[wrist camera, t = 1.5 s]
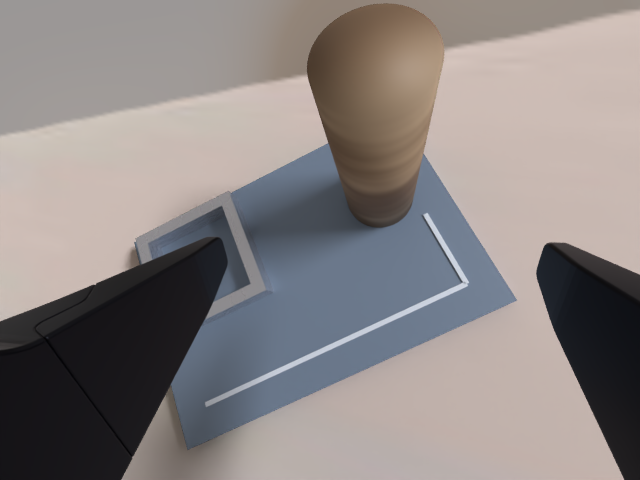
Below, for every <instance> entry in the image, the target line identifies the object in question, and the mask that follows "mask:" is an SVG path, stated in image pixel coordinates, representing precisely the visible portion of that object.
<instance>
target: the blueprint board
mask: <svg viewBox="0 0 640 480" xmlns="http://www.w3.org/2000/svg"><path fill="white" fill-rule="evenodd" d="M232 194H233V195H234V196H235V197H236V198H237V199H238V201H239V203H240V206H241V208H242V211H243V213H244V216H245V219H246V221H247V224H248V226H249V229H250V231H251V234H252V237H253V239H254V242H255V244H256V247H257V249H258V252H259V255H260V257H261V260H262V262H263V265H264V267H265V270H266V272H267V275H268V278H269V280H270V283H271V285H272V288H273V290H274V292H273V293H271V294H269V295H267V296H265V297H263V298H261V299H259V300H257V301H255V302H253V303H251V304H249V305H246V306H244V307H242V308H240V309H238V310H236V311H234V312H232V313H230V314H228V315H226V316H224V317H222V318H220V319H217V320H215V321H213V322H211V323H209V324H207V325H205V326H203V327H201V328H200V330H199V332H198V334H197V335H196V337H195V339H194V341H193V343H192V345H191V347H190V349H189V351H188V353H187V355H186V356H185V358H184V360H183V362H182V364H181V366H180V368H179V370H178V372H177V374H176V376H175V377H174V379H173V381H172V383H171V387H172V391H173V395H174V399H175V403H176V407H177V410H178V414H179V418H180V422H181V426H182V430H183V434H184V438H185V442H186V445H187V449H188V450H189V449H191V448H193V447H195V446H197V445H200V444H202V443H204V442H206V441H209V440H211V439H213V438H215V437H217V436H220V435H222V434H224V433H226V432H228V431H231V430H233V429H235V428H237V427H239V426H242V425H244V424H246V423H248V422H250V421H253V420H255V419H257V418H259V417H261V416H264V415H266V414H268V413H270V412H272V411H275V410H277V409H279V408H281V407H283V406H286V405H288V404H290V403H292V402H294V401H297V400H299V399H301V398H303V397H305V396H308V395H310V394H312V393H314V392H316V391H319V390H321V389H323V388H325V387H327V386H330V385H332V384H334V383H336V382H338V381H341V380H343V379H345V378H347V377H349V376H352V375H354V374H356V373H358V372H360V371H363V370H365V369H367V368H369V367H371V366H374V365H376V364H378V363H380V362H382V361H385V360H387V359H389V358H391V357H393V356H396V355H398V354H400V353H402V352H404V351H407V350H409V349H411V348H413V347H415V346H418V345H420V344H422V343H424V342H426V341H429V340H431V339H433V338H435V337H437V336H440V335H442V334H444V333H446V332H448V331H451V330H453V329H455V328H457V327H459V326H462V325H464V324H466V323H468V322H470V321H473V320H475V319H477V318H479V317H481V316H484V315H486V314H488V313H490V312H492V311H495V310H497V309H499V308H501V307H503V306H506V305H508V304H510V303H512V302H514V301H517V299H516V298H515V296H514V295H513V293H512V292H511V290H510V288H509V287H508V285H507V284H506V282H505V281H504V279H503V277H502V276H501V274H500V273H499V271H498V270H497V268H496V266H495V265H494V263H493V262H492V260H491V259H490V257H489V256H488V254H487V252H486V251H485V249H484V248H483V246H482V245H481V243H480V241H479V240H478V238H477V237H476V235H475V234H474V232H473V230H472V229H471V227H470V226H469V224H468V223H467V221H466V219H465V218H464V216H463V215H462V213H461V212H460V210H459V208H458V207H457V205H456V204H455V202H454V201H453V199H452V197H451V196H450V194H449V193H448V191H447V190H446V188H445V186H444V185H443V183H442V182H441V180H440V179H439V177H438V175H437V174H436V172H435V171H434V169H433V168H432V166H431V165H430V163H429V161H428V160H427V158H426V157H425V155H424V154H423V157H422V162H421V166H420V171H419V175H418V180H417V184H416V189H415V194H414V198H413V202H412V206H411V208H410V210H409V212H408V213H407V215H406V216H405V217H404V218H403V219H402V220H400V221H399V222H398V223H396V224H394V225H391V226H388V227H380V228H377V227H371V226H367V225H365V224H363V223H361V222H360V221H358V220H357V219H356V218H355V217H354V216H353V214H352V213H351V211H350V209H349V206H348V203H347V200H346V197H345V194H344V190H343V187H342V184H341V181H340V178H339V175H338V171H337V168H336V165H335V162H334V159H333V156H332V153H331V149H330V146H329V143H328V144H326V145H324V146H322V147H320V148H318V149H316V150H314V151H312V152H310V153H308V154H306V155H304V156H302V157H301V158H299V159H297V160H295V161H293V162H291V163H289V164H287V165H285V166H283V167H281V168H279V169H277V170H275V171H273V172H271V173H269V174H267V175H265V176H263V177H261V178H259V179H257V180H256V181H254V182H252V183H250V184H248V185H246V186H244V187H242V188H240V189H238V190H236V191H234V192H232ZM209 236H210V237H220V238H221V239H222V241H223V244H224V247H225V251H226V255H227V258H228V266H227V269H226V271H225V274H224V276H223V279H222V282H221V284H220V287H219V289H218V292H217V294H216V297H215V299H214V301H217V300H219V299H221V298H223V297H225V296H227V295H229V294H231V293H233V292H235V291H237V290H239V289H241V288H243V287H245V286H247V285H249V284H251V283H250V280H249V278H248V275H247V272H246V269H245V267H244V264H243V261H242V259H241V256H240V253H239V250H238V248H237V245H236V242H235V240H234V237H233V234H232V231H231V229H230V226H229V223H228V221H227V218H226V216H224V217H222V218H220V219H218V220H216V221H214V222H212V223H210V224H208V225H206V226H204V227H202V228H200V229H198V230H196V231H194V232H192V233H190V234H188V235H187V236H185V237H183V238H181V239H179V240H177V241H175V242H173V243H171V244H169V245H167V246H165V247H163V248H162V251H163V255H165V254H167V253H170V252H172V251H174V250H177V249H179V248H181V247H184V246H186V245H188V244H191V243H193V242H196V241H198V240H200V239H203V238H205V237H209ZM134 243H135V247H136V251H137V255H138V259H139V263H140V265H141V264H142V262H141V258H140V255H139V251H138V247H137V243H136V242H134Z"/></svg>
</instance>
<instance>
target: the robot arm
mask: <svg viewBox="0 0 640 480" xmlns="http://www.w3.org/2000/svg"><path fill="white" fill-rule="evenodd" d="M227 266H228V258H227V255H226V251H225V247H224V244H223V241H222V239H221V238H220V237H210V236H209V237H205V238H203V239H200V240H198V241H196V242H193V243H191V244H188V245H186V246H184V247H181V248H179V249H177V250H174V251H172V252H170V253H167V254H165V255H162V256H160V257H158V258H155V259H153V260H151V261H148V262H146V263H144V264H141V265H139V266H136V267H134V268H132V269H129V270H127V271H125V272H122V273H120V274H118V275H115V276H113V277H110V278H108V279H106V280H103V281H101V282H99V283H97V284H96V285H91V286H89V287H87V288H84V289H82V290H80V291H77V292H75V293H72V294H70V295H67V296H65V297H62V298H60V299H58V300H55V301H52V302H50V303H47V304H45V305H42V306H40V307H37V308H34V309H32V310H29V311H26V312H24V313H21V314H19V315H16V316H13V317H11V318H8V319H5V320H3V321H0V480H121V479H122V477H123V475H124V473H125V471H126V469H127V468H128V466H129V464H130V462H131V460H132V456H134V454H135V452H136V450H137V448H138V446H139V444H140V442H141V440H142V439H143V437H144V435H145V433H146V431H147V429H148V427H149V425H150V423H151V421H152V419H153V418H154V416H155V414H156V412H157V410H158V408H159V406H160V404H161V402H162V400H163V398H164V397H165V395H166V393H167V391H168V389H169V387H170V385H171V383H172V381H173V379H174V377H175V376H176V374H177V372H178V370H179V368H180V366H181V364H182V362H183V360H184V358H185V356H186V355H187V353H188V351H189V349H190V347H191V345H192V343H193V341H194V339H195V337H196V335H197V334H198V332H199V330H200V328H201V326H202V324H203V322H204V320H205V318H206V316H207V314H208V313H209V311H210V308H211V306H212V304H213V302H214V299H215V297H216V294H217V292H218V289H219V287H220V284H221V282H222V279H223V276H224V274H225V271H226V269H227ZM536 275H537V280H538V283H539V286H540V289H541V292H542V295H543V299H544V302H545V305H546V308H547V311H548V314H549V317H550V320H551V323H552V326H553V329H554V331H555V333H556V335H557V338H558V340H559V342H560V344H561V346H562V348H563V350H564V352H565V355H566V357H567V359H568V361H569V363H570V365H571V367H572V369H573V372H574V374H575V376H576V378H577V380H578V382H579V384H580V386H581V389H582V391H583V393H584V395H585V397H586V399H587V401H588V403H589V406H590V408H591V410H592V412H593V414H594V416H595V418H596V420H597V423H598V425H599V427H600V429H601V431H602V433H603V435H604V437H605V440H606V442H607V444H608V446H609V448H610V450H611V452H612V454H613V457H614V459H615V461H616V463H617V465H618V467H619V469H620V471H621V474H622V476H623V478H624V480H640V275H639V274H637V273H634V272H632V271H630V270H627V269H625V268H623V267H620V266H618V265H616V264H613V263H611V262H609V261H607V260H604V259H602V258H600V257H597V256H595V255H593V254H590V253H588V252H586V251H583V250H581V249H579V248H576V247H574V246H572V245H569V244H567V243H547V244H546V245H545V246H544V248H543V251H542V254H541V257H540V260H539V264H538V267H537V272H536Z"/></svg>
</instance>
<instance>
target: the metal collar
mask: <svg viewBox="0 0 640 480" xmlns="http://www.w3.org/2000/svg"><path fill="white" fill-rule="evenodd" d="M224 216H226V218H227V221H228V223H229V226H230V229H231V231H232V234H233V237H234V240H235V242H236V245H237V248H238V250H239V253H240V256H241V259H242V261H243V264H244V267H245V269H246V272H247V275H248V278H249V280H250V283H251V284H249V285H247V286H245V287H243V288H241V289H239V290H237V291H235V292H233V293H231V294H229V295H227V296H225V297H223V298H221V299H219V300H217V301H214V302H213V304H212V306H211V308H210V311H209V313H208V314H207V316H206V318H205V320H204V322H203V324H202V326H201V327H203V326H205V325H207V324H209V323H211V322H213V321H215V320H217V319H220V318H222V317H224V316H226V315H228V314H230V313H232V312H234V311H236V310H238V309H240V308H242V307H244V306H246V305H249V304H251V303H253V302H255V301H257V300H259V299H261V298H263V297H265V296H267V295H269V294H271V293H273V292H274V290H273V288H272V285H271V283H270V280H269V278H268V275H267V272H266V270H265V267H264V265H263V262H262V260H261V257H260V255H259V252H258V249H257V247H256V244H255V242H254V239H253V237H252V234H251V231H250V229H249V226H248V224H247V221H246V219H245V216H244V213H243V211H242V208H241V206H240V203H239V201H238V199H237V198H236V197H235V196H234V195H233V194H232V193H230V192H229V191H227V192H225V193H223V194H221V195H219V196H217V197H216V198H214V199H212V200H210V201H208V202H206V203H204V204H202V205H200V206H198V207H196V208H194V209H192V210H190V211H188V212H186V213H184V214H182V215H180V216H178V217H176V218H175V219H173V220H171V221H169V222H167V223H165V224H163V225H161V226H159V227H157V228H155V229H153V230H151V231H149V232H147V233H145V234H143V235H141V236H139V237H137V238H135V239H136V243H137V247H138V251H139V255H140V258H141V262H142V264H144V263H146V262H148V261H151V260H153V259H155V258H158V257H160V256H162V255H163V251H162V248H163V247H165V246H167V245H169V244H171V243H173V242H175V241H177V240H179V239H181V238H183V237H185V236H187V235H188V234H190V233H192V232H194V231H196V230H198V229H200V228H202V227H204V226H206V225H208V224H210V223H212V222H214V221H216V220H218V219H220V218H222V217H224Z"/></svg>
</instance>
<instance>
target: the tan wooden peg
mask: <svg viewBox="0 0 640 480" xmlns="http://www.w3.org/2000/svg"><path fill="white" fill-rule="evenodd" d="M443 61H444V45H443V41H442V37H441V35H440V32H439V31H438V29H437V28H436V26H435V25H434V24H433V22H432V21H431V20H430V19H429V18H427V17H426V16H425V15H424V14H422V13H420V12H419V11H417V10H414V9H412V8H409V7H406V6H403V5H397V4H373V5H368V6H364V7H360V8H357V9H354V10H352V11H350V12H347V13H345V14H344V15H342V16H340V17H339V18H337V19H336V20H334V21H333V22H332V23H330V24H329V25H328V26H327V27H326V28H325V29H324V30H323V31H322V33H321V34H320V35H319V36H318V38H317V39H316V41H315V42H314V44H313V46H312V48H311V51H310V54H309V58H308V63H307V74H308V79H309V83H310V86H311V89H312V93H313V96H314V99H315V102H316V105H317V108H318V111H319V115H320V118H321V121H322V124H323V127H324V130H325V134H326V137H327V140H328V143H329V146H330V149H331V153H332V156H333V159H334V162H335V165H336V168H337V171H338V175H339V178H340V181H341V184H342V187H343V190H344V194H345V197H346V200H347V203H348V206H349V209H350V211H351V213H352V214H353V216H354V217H355V218H356V219H357V220H358V221H360V222H361V223H363V224H365V225H367V226H371V227H377V228H380V227H388V226H391V225H394V224H396V223H398V222H399V221H400V220H402V219H403V218H404V217H405V216H406V215H407V213H408V212H409V210H410V208H411V206H412V202H413V198H414V194H415V189H416V184H417V180H418V175H419V171H420V166H421V162H422V157H423V152H424V148H425V143H426V139H427V134H428V130H429V125H430V120H431V116H432V111H433V107H434V102H435V98H436V93H437V88H438V84H439V79H440V75H441V70H442V66H443Z"/></svg>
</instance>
